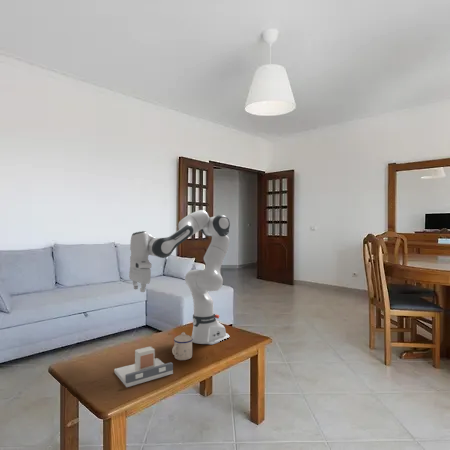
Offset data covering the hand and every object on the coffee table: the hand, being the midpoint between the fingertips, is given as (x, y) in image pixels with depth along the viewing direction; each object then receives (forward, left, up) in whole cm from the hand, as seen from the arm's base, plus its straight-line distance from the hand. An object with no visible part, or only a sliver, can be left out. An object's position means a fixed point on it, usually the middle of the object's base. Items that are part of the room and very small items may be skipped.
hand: (139, 290), depth 160 cm
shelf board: (+7, +24, -31) cm, 40 cm away
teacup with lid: (-14, +19, -31) cm, 39 cm away
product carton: (+7, +25, -30) cm, 40 cm away
